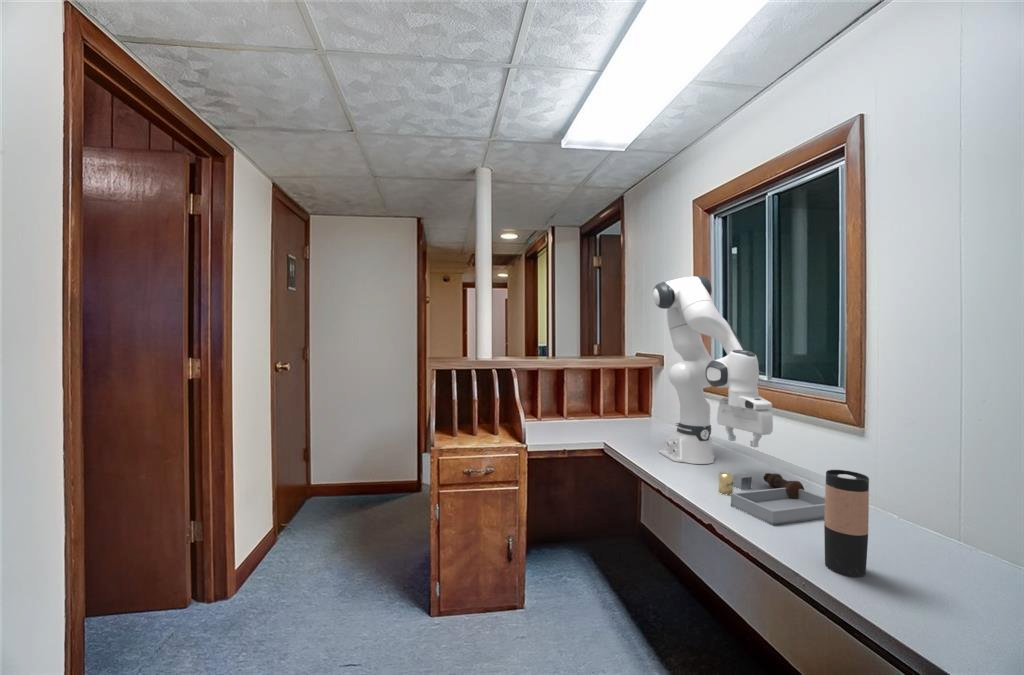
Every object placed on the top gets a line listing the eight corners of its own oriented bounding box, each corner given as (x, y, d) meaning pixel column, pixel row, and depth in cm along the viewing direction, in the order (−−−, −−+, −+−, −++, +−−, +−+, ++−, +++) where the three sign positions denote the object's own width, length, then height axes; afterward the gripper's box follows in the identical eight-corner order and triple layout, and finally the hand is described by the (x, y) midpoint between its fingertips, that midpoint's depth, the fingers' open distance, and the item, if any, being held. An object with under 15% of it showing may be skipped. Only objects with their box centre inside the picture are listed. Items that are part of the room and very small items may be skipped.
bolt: (769, 489, 159) (798, 503, 144) (756, 481, 159) (784, 494, 144) (778, 473, 159) (808, 486, 144) (765, 465, 159) (793, 477, 144)
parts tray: (730, 505, 139) (731, 493, 139) (794, 498, 146) (794, 486, 146) (772, 525, 125) (772, 511, 125) (840, 516, 132) (840, 502, 132)
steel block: (731, 486, 157) (732, 474, 157) (741, 485, 159) (742, 473, 158) (741, 490, 153) (741, 477, 153) (751, 489, 155) (751, 476, 155)
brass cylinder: (715, 491, 152) (716, 472, 152) (726, 490, 153) (726, 471, 153) (725, 495, 148) (725, 476, 148) (735, 494, 149) (735, 475, 149)
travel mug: (816, 559, 106) (818, 468, 106) (853, 561, 106) (855, 470, 105) (835, 576, 99) (838, 479, 99) (876, 579, 98) (878, 480, 98)
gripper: (712, 397, 165) (712, 437, 165) (760, 405, 145) (759, 451, 145) (727, 396, 166) (727, 436, 166) (776, 404, 147) (776, 450, 147)
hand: (742, 443), depth 156 cm, fingers open, 8 cm apart
